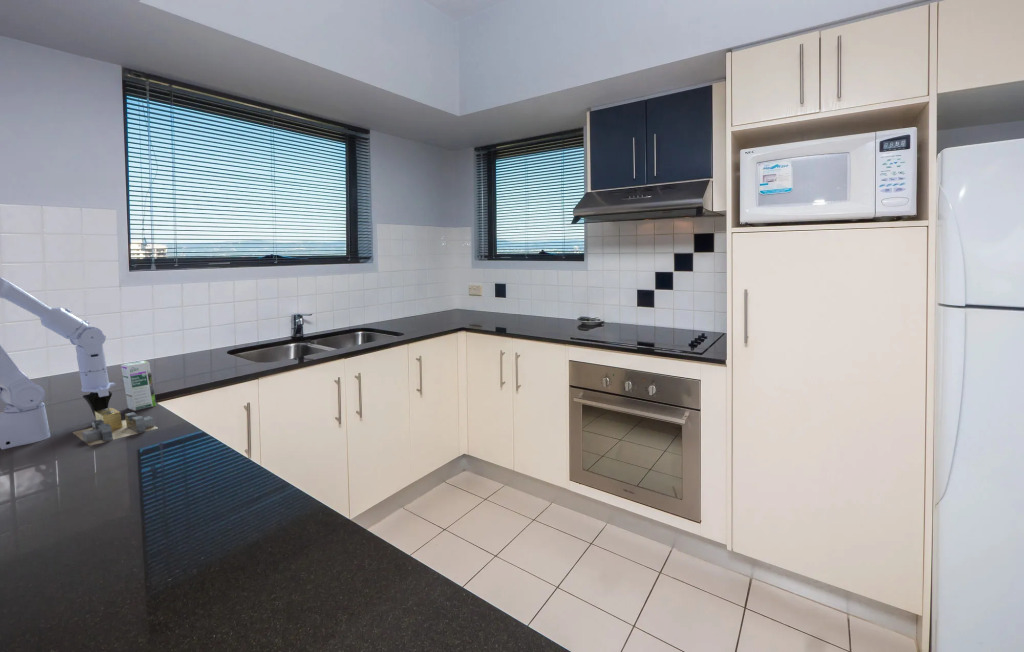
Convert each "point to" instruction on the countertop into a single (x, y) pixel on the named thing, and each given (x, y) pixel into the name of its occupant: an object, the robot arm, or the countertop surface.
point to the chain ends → (105, 432)
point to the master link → (109, 417)
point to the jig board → (113, 433)
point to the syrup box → (138, 385)
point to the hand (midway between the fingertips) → (101, 418)
